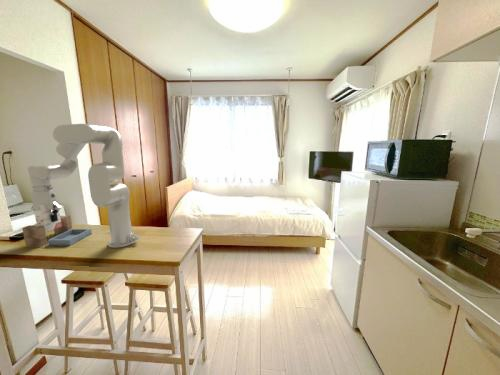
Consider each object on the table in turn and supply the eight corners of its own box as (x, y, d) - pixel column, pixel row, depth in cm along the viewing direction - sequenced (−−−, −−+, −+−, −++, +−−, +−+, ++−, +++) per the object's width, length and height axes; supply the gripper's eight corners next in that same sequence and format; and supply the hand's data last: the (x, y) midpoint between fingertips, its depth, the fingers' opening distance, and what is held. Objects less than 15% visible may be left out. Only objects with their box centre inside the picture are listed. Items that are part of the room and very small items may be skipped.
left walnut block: (47, 243, 109) (44, 225, 107) (41, 246, 106) (38, 227, 104) (32, 243, 109) (28, 225, 107) (26, 246, 106) (22, 227, 104)
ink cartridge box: (55, 225, 119) (50, 200, 116) (62, 226, 118) (57, 201, 115) (37, 231, 111) (31, 204, 108) (45, 232, 110) (39, 205, 107)
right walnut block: (72, 231, 125) (70, 215, 123) (68, 233, 122) (65, 217, 120) (59, 231, 125) (56, 215, 123) (54, 233, 122) (51, 217, 120)
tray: (91, 233, 122) (91, 228, 121) (70, 245, 107) (69, 240, 107) (72, 233, 122) (72, 228, 121) (48, 245, 107) (47, 240, 107)
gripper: (64, 187, 114) (70, 218, 117) (33, 187, 114) (39, 219, 117) (52, 189, 106) (58, 223, 110) (18, 190, 106) (25, 224, 110)
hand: (48, 221), depth 113 cm, fingers closed on ink cartridge box, 5 cm apart
